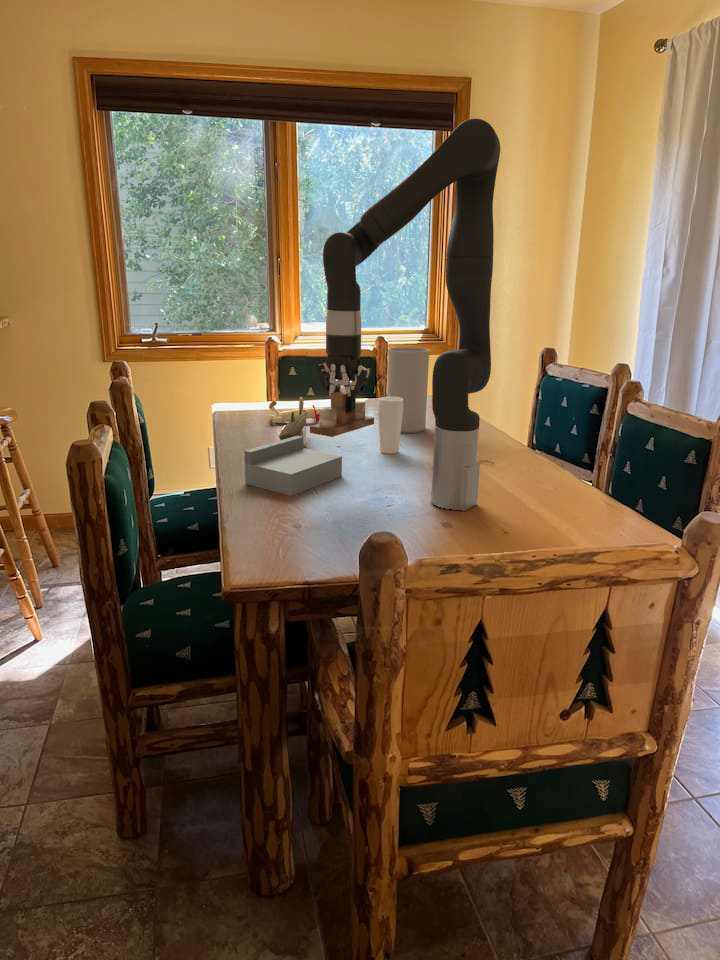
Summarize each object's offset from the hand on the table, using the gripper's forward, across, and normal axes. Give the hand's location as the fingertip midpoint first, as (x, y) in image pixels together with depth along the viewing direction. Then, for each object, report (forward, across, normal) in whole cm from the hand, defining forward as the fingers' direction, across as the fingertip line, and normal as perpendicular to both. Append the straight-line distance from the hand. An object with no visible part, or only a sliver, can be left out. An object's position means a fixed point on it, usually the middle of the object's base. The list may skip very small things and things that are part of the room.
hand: (343, 411), depth 151 cm
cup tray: (+4, 0, 0) cm, 4 cm away
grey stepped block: (+18, +14, 0) cm, 23 cm away
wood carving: (+18, +34, -24) cm, 46 cm away
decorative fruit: (+18, +56, -77) cm, 97 cm away
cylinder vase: (+18, +21, -63) cm, 69 cm away
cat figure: (+19, +50, -50) cm, 74 cm away
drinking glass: (+19, +10, -36) cm, 42 cm away
